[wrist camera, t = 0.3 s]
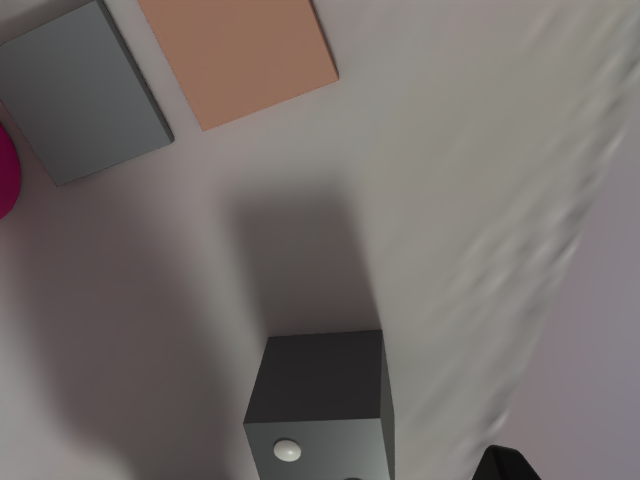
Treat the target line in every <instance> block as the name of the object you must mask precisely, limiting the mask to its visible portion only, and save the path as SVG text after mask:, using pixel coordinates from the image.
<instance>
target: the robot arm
mask: <svg viewBox="0 0 640 480" xmlns="http://www.w3.org/2000/svg"><path fill="white" fill-rule="evenodd" d="M472 480H541V478H540V477H539V476H538V475H537V473H536V472H535V471H534V469H533V468H532V467H531V465H530V464H529V463H528V462H527V460H526V459H525V458H524V456H523V455H522V454H521V453H520V452H519V451H517V450H515V449H512V448H507V447H503V446H498V445H490V446H489V447H487V449H486V450H485V452H484V454H483V456H482V459H481V461H480V463H479V465H478V467H477V470H476V472H475V474H474V476H473V478H472Z"/></svg>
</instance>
